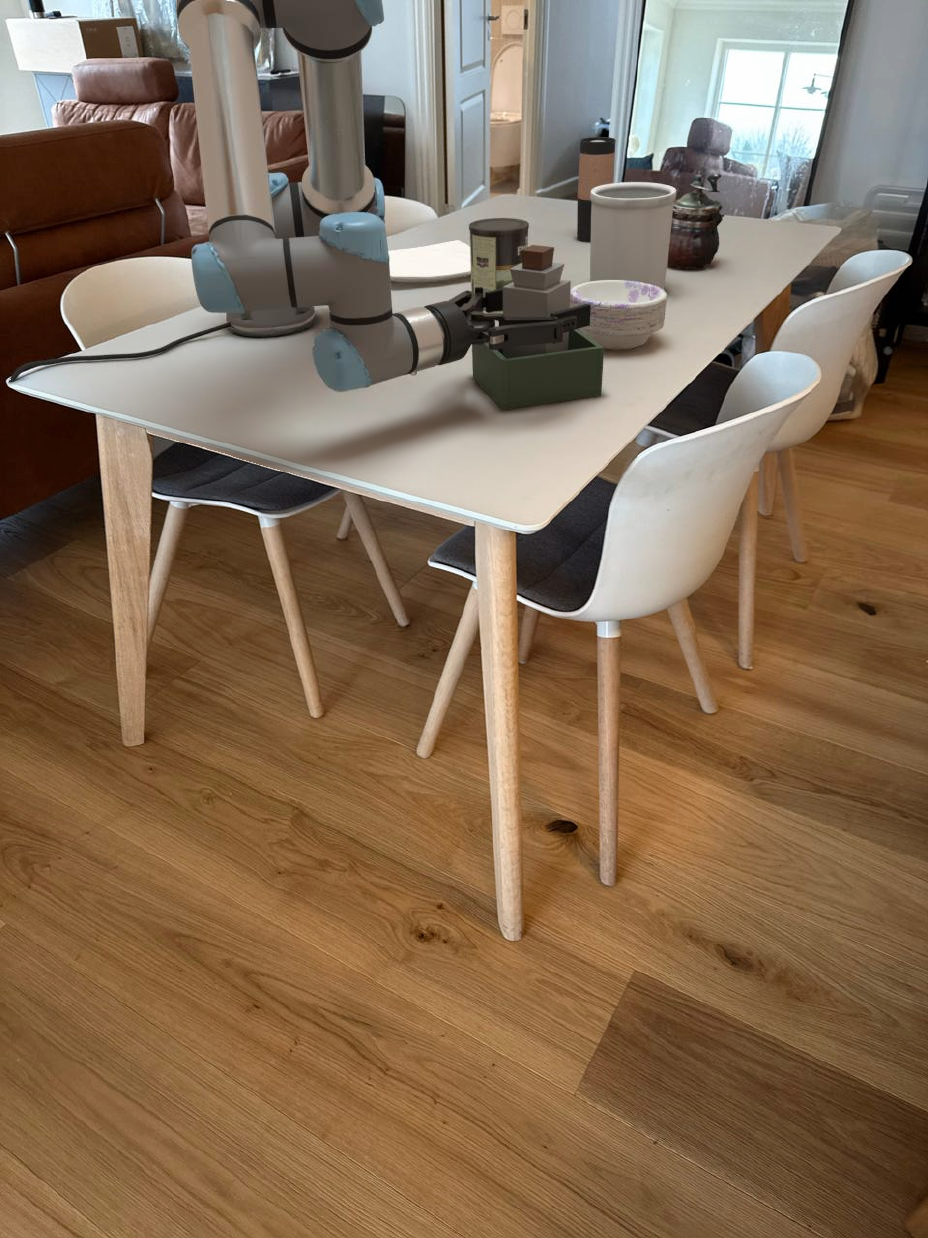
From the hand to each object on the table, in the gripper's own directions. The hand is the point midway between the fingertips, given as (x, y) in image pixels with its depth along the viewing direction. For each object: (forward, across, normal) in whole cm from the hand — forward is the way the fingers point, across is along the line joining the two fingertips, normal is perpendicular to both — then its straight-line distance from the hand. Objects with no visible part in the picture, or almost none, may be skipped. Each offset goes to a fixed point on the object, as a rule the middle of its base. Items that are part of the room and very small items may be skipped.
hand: (554, 303), depth 125 cm
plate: (+23, -64, -11) cm, 69 cm away
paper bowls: (+19, -7, -11) cm, 23 cm away
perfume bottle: (-3, 0, -10) cm, 11 cm away
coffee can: (+17, -34, -11) cm, 40 cm away
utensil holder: (+41, -25, -11) cm, 49 cm away
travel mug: (+67, -61, -11) cm, 91 cm away
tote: (-3, 0, -11) cm, 11 cm away
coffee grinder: (+64, -29, -11) cm, 71 cm away
